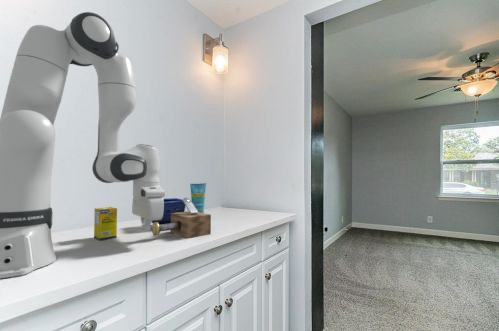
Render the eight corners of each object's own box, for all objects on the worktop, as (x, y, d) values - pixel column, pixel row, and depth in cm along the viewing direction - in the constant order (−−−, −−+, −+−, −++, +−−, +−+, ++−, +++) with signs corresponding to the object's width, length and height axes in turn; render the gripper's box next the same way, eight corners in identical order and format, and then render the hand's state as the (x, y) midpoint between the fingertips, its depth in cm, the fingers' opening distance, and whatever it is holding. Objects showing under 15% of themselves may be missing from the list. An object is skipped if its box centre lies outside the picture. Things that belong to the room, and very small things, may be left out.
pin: (156, 236, 90) (156, 223, 90) (151, 234, 93) (151, 221, 93) (190, 230, 99) (191, 219, 99) (185, 229, 102) (185, 217, 102)
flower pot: (186, 227, 113) (187, 200, 113) (155, 230, 105) (156, 201, 106) (177, 222, 124) (177, 197, 124) (148, 225, 116) (148, 199, 117)
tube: (191, 227, 112) (192, 183, 113) (188, 225, 116) (188, 183, 117) (207, 225, 116) (207, 183, 117) (203, 223, 120) (203, 182, 121)
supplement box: (117, 237, 93) (117, 207, 94) (98, 240, 89) (99, 209, 89) (111, 235, 97) (111, 206, 98) (93, 238, 93) (94, 208, 93)
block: (187, 238, 92) (187, 217, 93) (170, 231, 103) (170, 213, 103) (210, 233, 99) (210, 214, 99) (192, 228, 109) (192, 210, 110)
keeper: (190, 214, 98) (191, 212, 98) (181, 199, 104) (182, 198, 103) (197, 213, 100) (198, 212, 100) (188, 199, 106) (189, 197, 105)
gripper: (127, 189, 96) (127, 226, 95) (148, 192, 80) (147, 236, 80) (144, 189, 100) (144, 224, 99) (167, 191, 85) (167, 233, 84)
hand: (146, 230), depth 89 cm, fingers closed
